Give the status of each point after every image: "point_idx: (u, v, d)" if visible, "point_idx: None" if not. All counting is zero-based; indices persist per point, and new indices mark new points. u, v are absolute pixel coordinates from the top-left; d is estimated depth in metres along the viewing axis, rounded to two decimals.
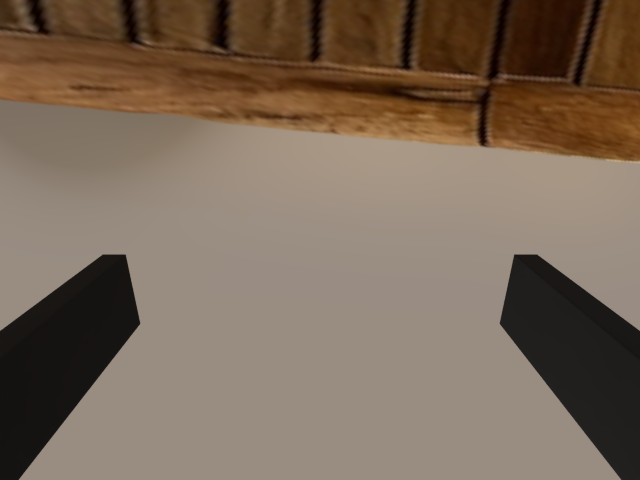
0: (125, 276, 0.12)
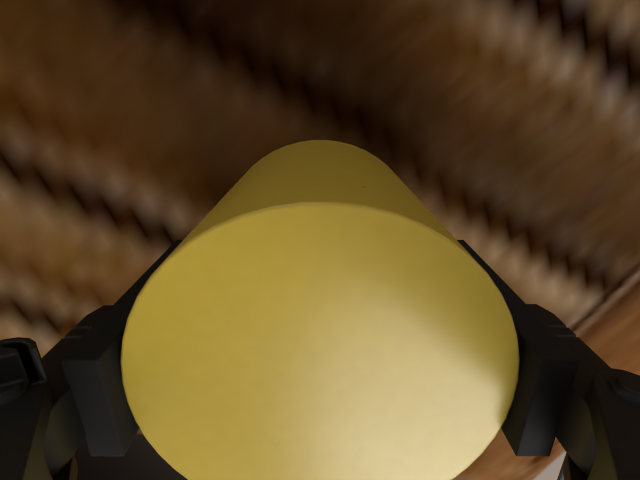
0: None
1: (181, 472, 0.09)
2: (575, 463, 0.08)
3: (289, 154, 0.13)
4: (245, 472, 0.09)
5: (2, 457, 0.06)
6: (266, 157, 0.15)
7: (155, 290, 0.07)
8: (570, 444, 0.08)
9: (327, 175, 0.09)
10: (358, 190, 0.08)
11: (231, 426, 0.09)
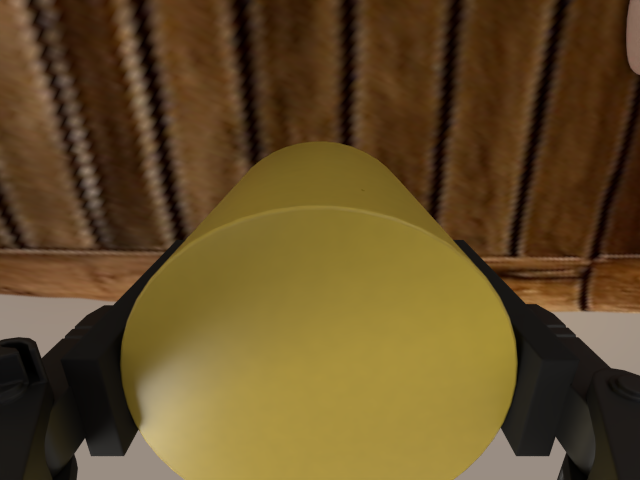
0: None
1: (180, 474, 0.09)
2: (575, 463, 0.08)
3: (288, 156, 0.13)
4: (244, 474, 0.09)
5: (2, 457, 0.06)
6: (266, 159, 0.15)
7: (154, 293, 0.07)
8: (570, 444, 0.08)
9: (326, 178, 0.09)
10: (357, 194, 0.08)
11: (229, 428, 0.09)
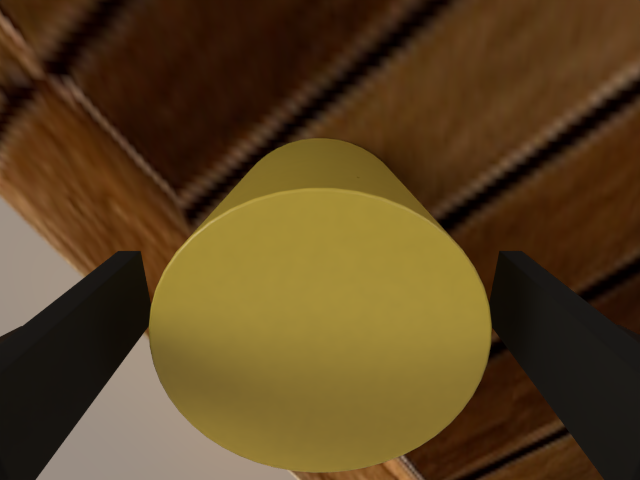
0: (140, 272, 0.13)
1: (198, 428, 0.11)
2: None
3: (292, 151, 0.14)
4: (254, 428, 0.11)
5: None
6: (271, 154, 0.16)
7: (180, 264, 0.09)
8: None
9: (326, 167, 0.10)
10: (353, 179, 0.09)
11: (242, 385, 0.10)
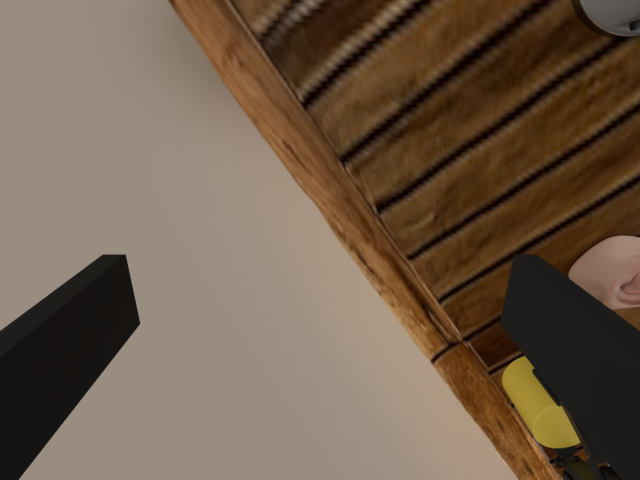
0: (125, 276, 0.12)
1: (536, 439, 0.53)
2: None
3: None
4: (547, 439, 0.53)
5: None
6: (525, 362, 0.59)
7: (546, 411, 0.51)
8: None
9: None
10: None
11: (548, 430, 0.52)
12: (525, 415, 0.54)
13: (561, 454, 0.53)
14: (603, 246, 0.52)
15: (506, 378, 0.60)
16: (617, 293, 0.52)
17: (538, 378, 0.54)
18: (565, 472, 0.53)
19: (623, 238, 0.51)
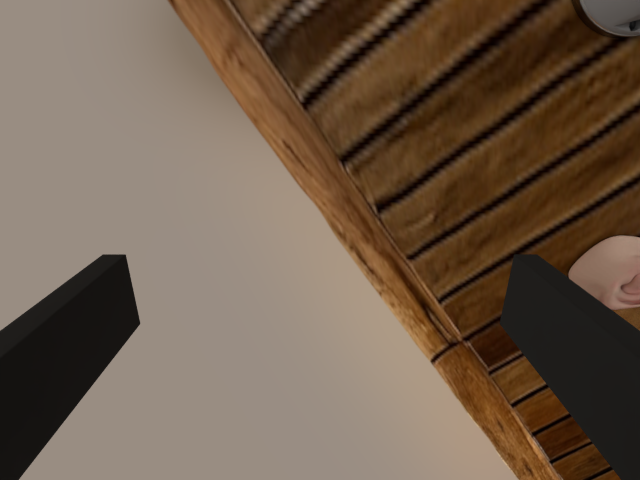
0: (125, 276, 0.12)
1: None
2: None
3: None
4: None
5: None
6: None
7: None
8: None
9: None
10: None
11: None
12: None
13: None
14: (603, 246, 0.52)
15: None
16: (617, 293, 0.52)
17: None
18: None
19: (623, 238, 0.51)
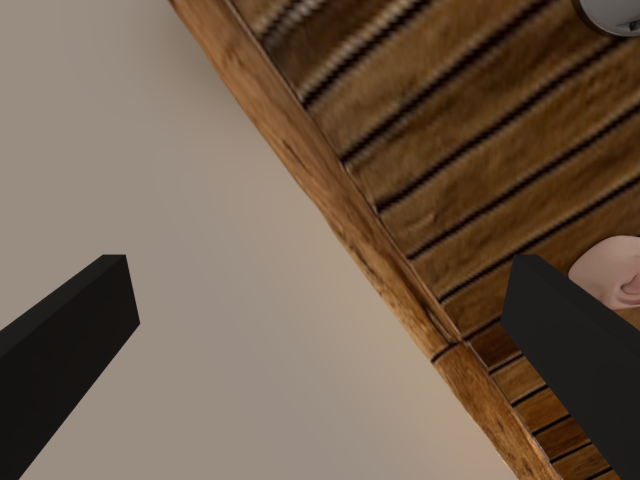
0: (125, 276, 0.12)
1: None
2: None
3: None
4: None
5: None
6: None
7: None
8: None
9: None
10: None
11: None
12: None
13: None
14: (603, 246, 0.52)
15: None
16: (617, 293, 0.52)
17: None
18: None
19: (623, 238, 0.51)
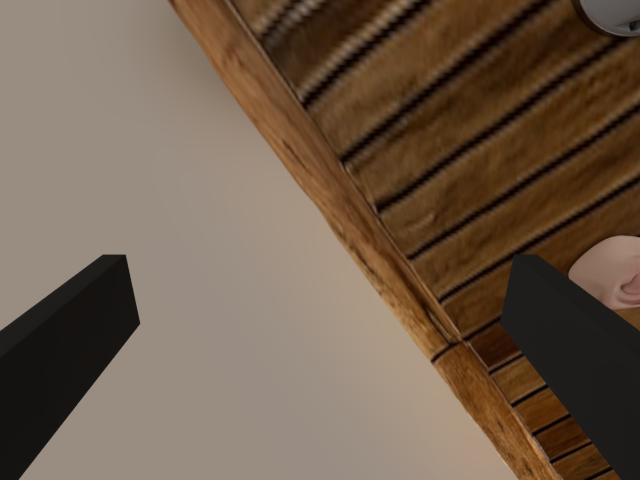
0: (125, 276, 0.12)
1: None
2: None
3: None
4: None
5: None
6: None
7: None
8: None
9: None
10: None
11: None
12: None
13: None
14: (603, 246, 0.52)
15: None
16: (617, 293, 0.52)
17: None
18: None
19: (623, 238, 0.51)
